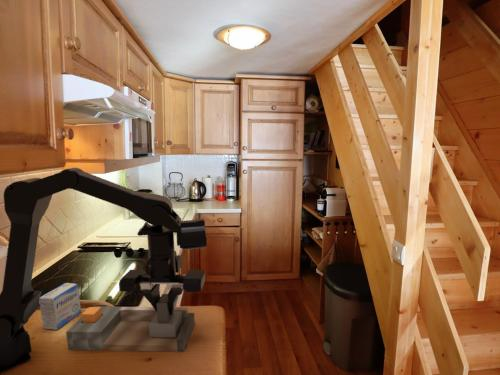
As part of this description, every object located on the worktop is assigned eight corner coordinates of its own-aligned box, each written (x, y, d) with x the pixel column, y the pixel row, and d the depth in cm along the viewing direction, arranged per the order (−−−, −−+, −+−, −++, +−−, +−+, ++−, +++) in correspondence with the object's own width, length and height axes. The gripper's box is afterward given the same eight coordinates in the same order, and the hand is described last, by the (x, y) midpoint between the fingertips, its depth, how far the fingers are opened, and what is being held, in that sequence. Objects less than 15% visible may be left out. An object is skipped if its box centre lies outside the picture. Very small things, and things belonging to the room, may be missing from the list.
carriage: (149, 337, 65) (147, 305, 64) (158, 322, 71) (156, 292, 69) (175, 337, 65) (173, 305, 64) (182, 322, 70) (180, 292, 69)
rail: (68, 349, 64) (66, 331, 63) (94, 322, 74) (92, 306, 73) (184, 351, 63) (183, 333, 62) (194, 323, 73) (193, 307, 72)
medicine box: (57, 331, 71) (53, 298, 69) (42, 329, 72) (38, 297, 70) (81, 312, 78) (78, 283, 77) (68, 311, 79) (64, 282, 78)
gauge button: (83, 327, 67) (81, 314, 66) (90, 320, 70) (89, 307, 69) (95, 327, 67) (93, 314, 66) (102, 320, 70) (100, 307, 69)
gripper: (208, 239, 72) (210, 296, 75) (137, 239, 73) (141, 295, 75) (199, 256, 61) (201, 322, 64) (115, 256, 62) (120, 321, 64)
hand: (165, 313), depth 67 cm, fingers closed on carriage, 2 cm apart
